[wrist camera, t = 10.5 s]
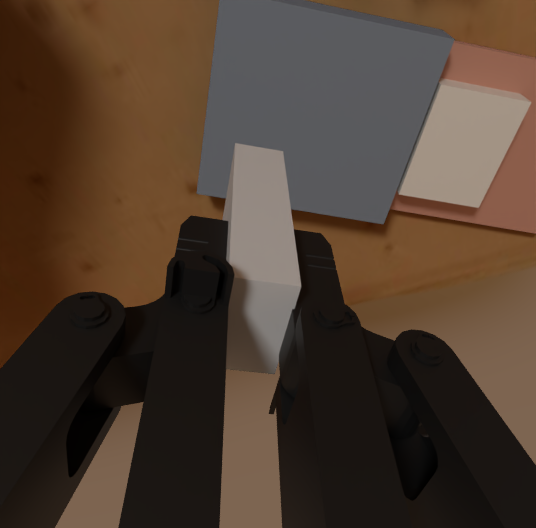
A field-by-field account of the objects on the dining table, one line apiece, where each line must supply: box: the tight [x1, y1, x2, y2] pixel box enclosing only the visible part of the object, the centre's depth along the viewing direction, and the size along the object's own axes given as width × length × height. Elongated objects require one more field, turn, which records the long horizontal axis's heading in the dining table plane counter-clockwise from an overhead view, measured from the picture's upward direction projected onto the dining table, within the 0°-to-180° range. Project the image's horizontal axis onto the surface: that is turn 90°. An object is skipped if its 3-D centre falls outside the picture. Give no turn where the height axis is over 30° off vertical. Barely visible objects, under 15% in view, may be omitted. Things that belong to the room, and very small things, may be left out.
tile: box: [397, 78, 531, 208], centre depth 39 cm, size 7×9×2 cm
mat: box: [390, 40, 536, 234], centre depth 41 cm, size 15×14×1 cm
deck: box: [197, 0, 455, 224], centre depth 38 cm, size 16×15×3 cm
